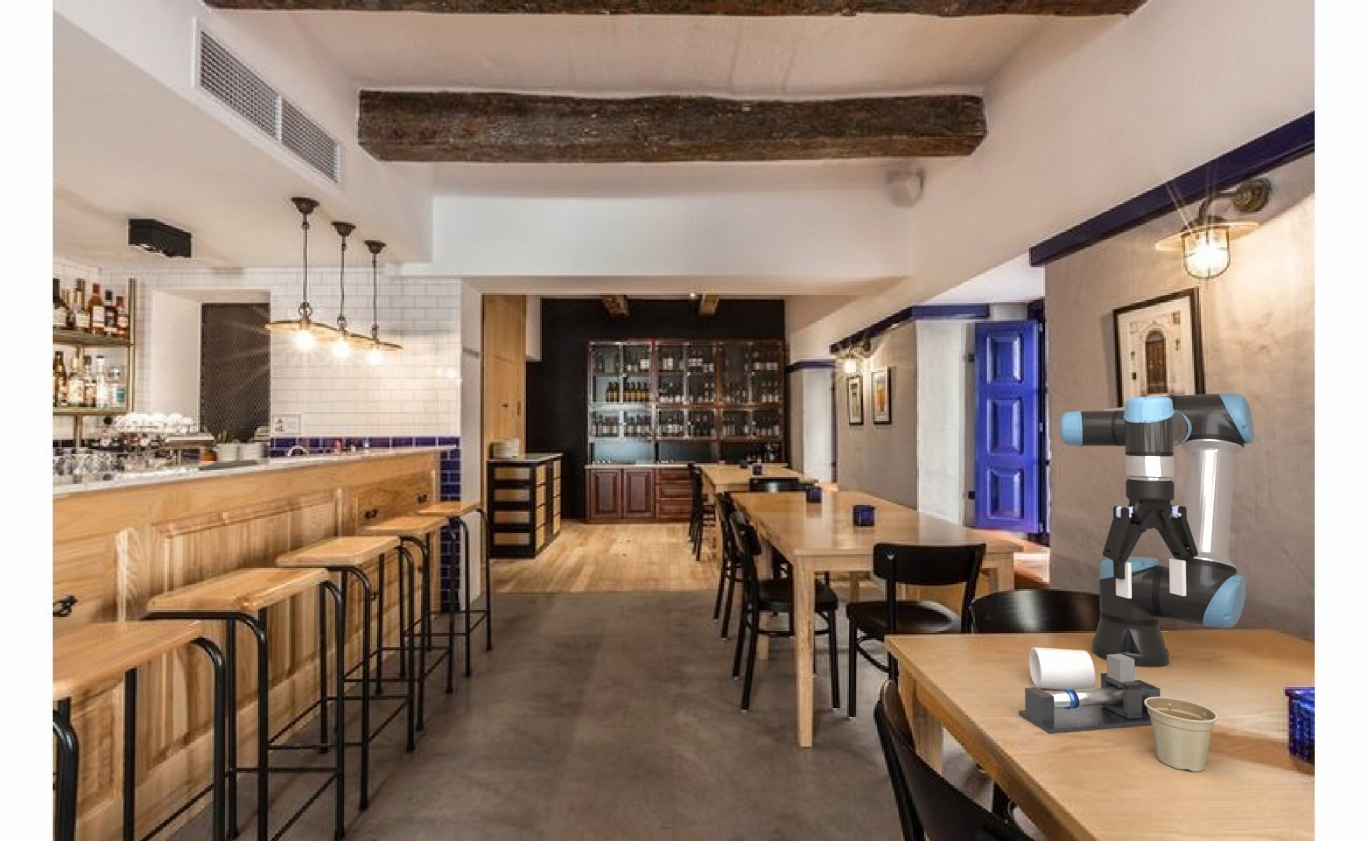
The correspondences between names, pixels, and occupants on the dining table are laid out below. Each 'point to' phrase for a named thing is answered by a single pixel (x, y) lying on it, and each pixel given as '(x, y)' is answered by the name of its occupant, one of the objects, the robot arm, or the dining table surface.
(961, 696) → the dining table surface
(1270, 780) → the dining table surface
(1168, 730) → the flower pot
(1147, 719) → the pipe rig
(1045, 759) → the dining table surface
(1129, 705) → the collar
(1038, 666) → the mug
